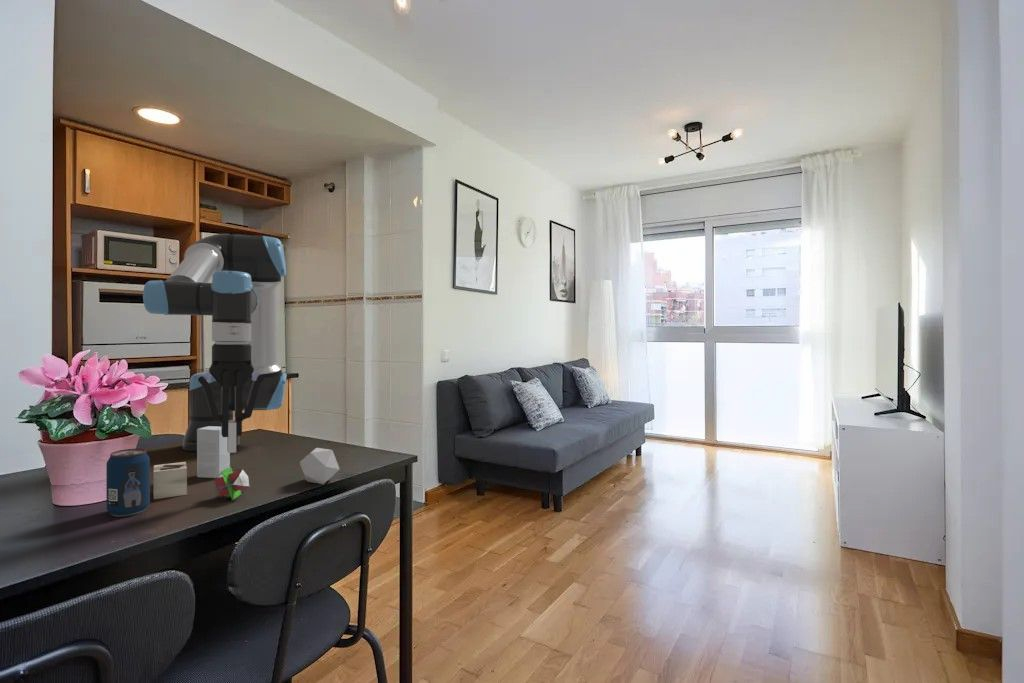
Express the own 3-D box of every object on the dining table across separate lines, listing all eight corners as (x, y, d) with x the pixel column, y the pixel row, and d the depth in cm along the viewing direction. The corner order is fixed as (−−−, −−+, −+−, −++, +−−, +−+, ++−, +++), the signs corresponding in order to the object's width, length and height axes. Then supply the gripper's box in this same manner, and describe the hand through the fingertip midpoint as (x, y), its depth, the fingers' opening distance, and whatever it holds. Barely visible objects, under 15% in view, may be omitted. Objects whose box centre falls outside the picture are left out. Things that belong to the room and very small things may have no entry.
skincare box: (230, 473, 128) (230, 426, 128) (219, 478, 124) (219, 430, 124) (208, 472, 129) (208, 425, 129) (195, 477, 125) (196, 428, 124)
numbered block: (154, 492, 114) (153, 464, 114) (185, 487, 117) (185, 460, 117) (153, 499, 109) (153, 471, 109) (186, 494, 112) (186, 467, 112)
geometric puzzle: (198, 492, 108) (221, 463, 108) (215, 482, 114) (237, 455, 114) (225, 512, 108) (248, 483, 108) (241, 501, 115) (262, 474, 115)
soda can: (129, 504, 106) (129, 446, 106) (158, 506, 105) (158, 448, 104) (97, 516, 99) (96, 455, 99) (127, 519, 98) (127, 457, 98)
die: (346, 482, 125) (339, 446, 130) (332, 473, 118) (325, 436, 122) (313, 494, 125) (307, 458, 129) (298, 486, 117) (292, 448, 122)
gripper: (197, 343, 103) (197, 459, 104) (267, 343, 111) (267, 451, 112) (195, 342, 110) (195, 451, 110) (262, 342, 117) (261, 444, 118)
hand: (231, 451), depth 111 cm, fingers closed
